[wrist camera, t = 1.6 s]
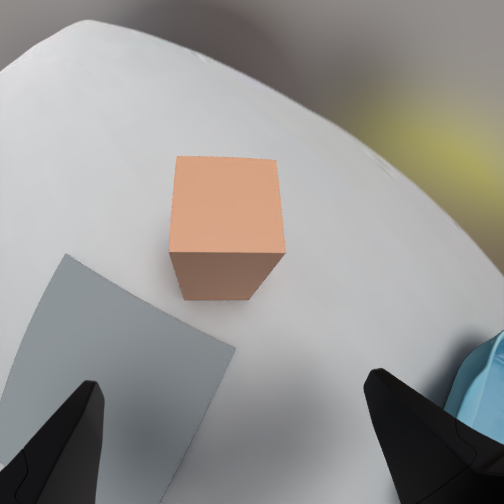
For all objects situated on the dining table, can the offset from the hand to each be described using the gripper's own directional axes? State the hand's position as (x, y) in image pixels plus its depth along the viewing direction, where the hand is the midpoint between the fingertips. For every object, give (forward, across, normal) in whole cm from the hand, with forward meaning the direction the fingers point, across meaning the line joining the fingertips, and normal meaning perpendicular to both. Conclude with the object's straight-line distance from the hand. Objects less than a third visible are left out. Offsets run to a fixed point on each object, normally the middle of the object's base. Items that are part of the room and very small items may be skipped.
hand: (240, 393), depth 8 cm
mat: (+6, +11, +13) cm, 18 cm away
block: (+15, 0, +4) cm, 16 cm away
